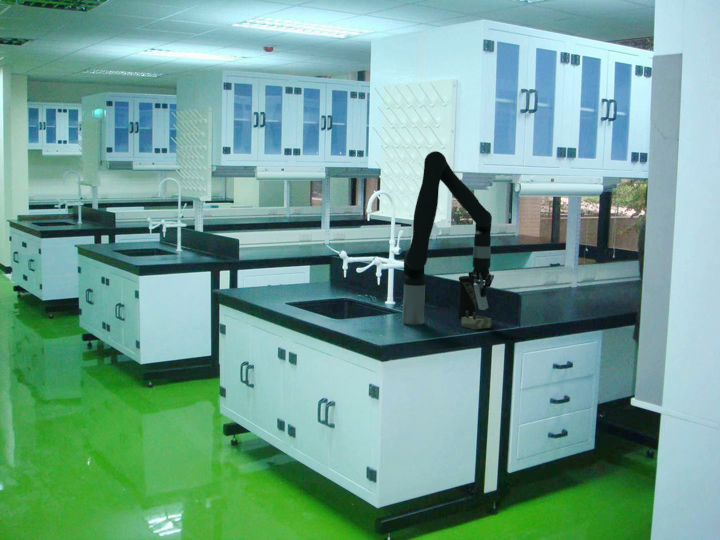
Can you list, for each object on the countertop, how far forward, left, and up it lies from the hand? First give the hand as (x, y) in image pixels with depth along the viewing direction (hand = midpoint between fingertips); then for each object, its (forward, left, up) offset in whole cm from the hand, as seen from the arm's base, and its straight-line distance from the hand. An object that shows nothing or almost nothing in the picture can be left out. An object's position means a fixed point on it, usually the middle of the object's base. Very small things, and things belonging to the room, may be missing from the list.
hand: (480, 296), depth 326 cm
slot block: (-1, -1, -13) cm, 13 cm away
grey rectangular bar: (+2, +1, -6) cm, 6 cm away
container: (-3, +18, -14) cm, 23 cm away
